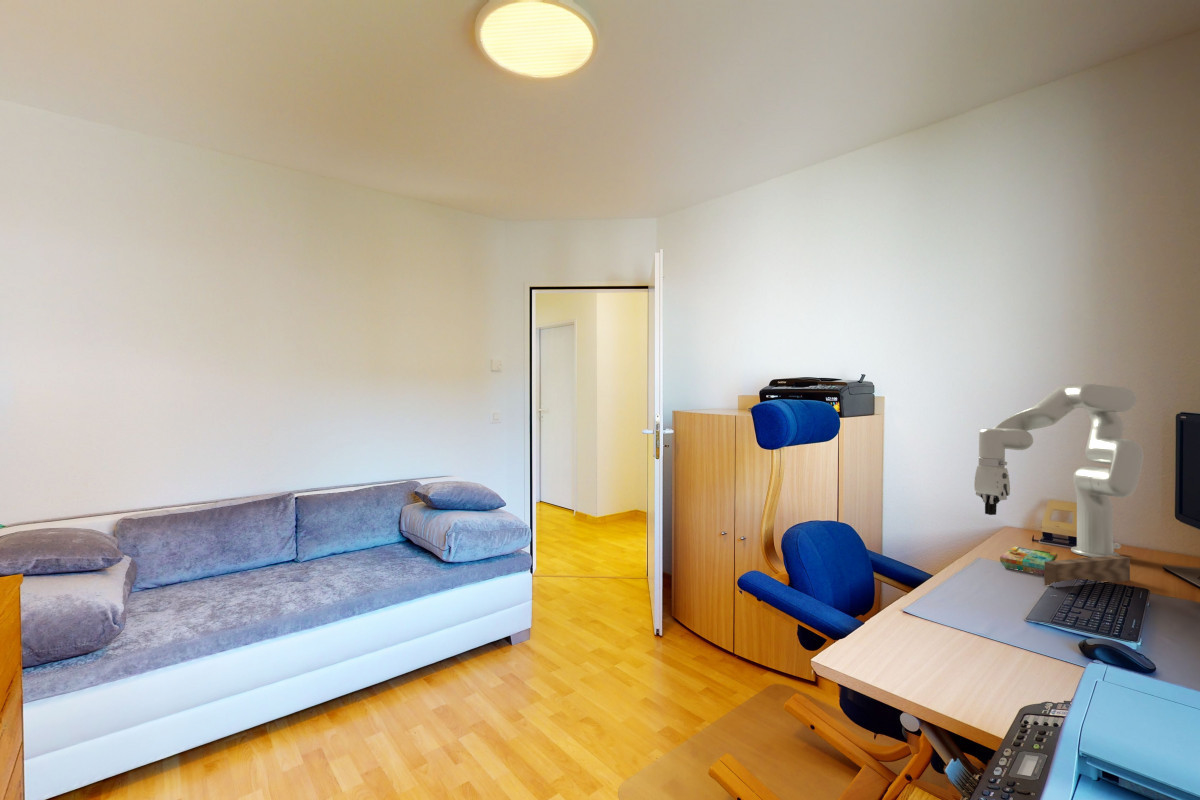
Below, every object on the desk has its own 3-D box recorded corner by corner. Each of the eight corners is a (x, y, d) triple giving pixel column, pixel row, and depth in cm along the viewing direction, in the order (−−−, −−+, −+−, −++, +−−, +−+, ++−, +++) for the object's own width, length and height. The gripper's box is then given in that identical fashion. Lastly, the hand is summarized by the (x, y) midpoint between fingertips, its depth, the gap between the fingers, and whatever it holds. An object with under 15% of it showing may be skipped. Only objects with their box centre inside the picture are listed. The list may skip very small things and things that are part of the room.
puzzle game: (1000, 554, 173) (1014, 544, 186) (1000, 568, 173) (1014, 557, 186) (1046, 562, 164) (1057, 550, 177) (1046, 577, 164) (1057, 564, 177)
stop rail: (1118, 577, 164) (1118, 555, 164) (1129, 580, 161) (1129, 557, 161) (1044, 585, 156) (1044, 561, 156) (1055, 588, 153) (1055, 564, 153)
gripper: (1020, 465, 181) (1019, 518, 181) (980, 460, 196) (979, 509, 196) (1003, 465, 180) (1002, 519, 180) (964, 460, 194) (963, 510, 194)
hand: (990, 514), depth 188 cm, fingers closed
